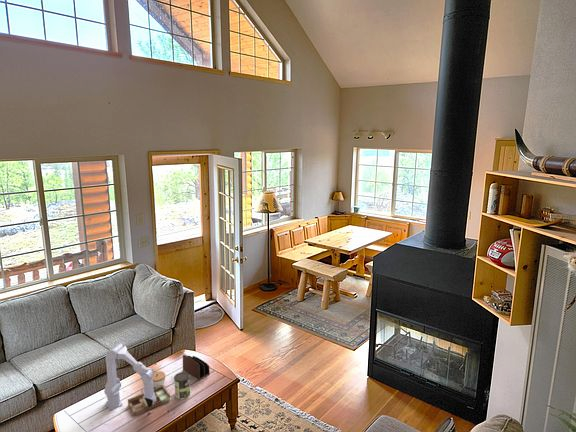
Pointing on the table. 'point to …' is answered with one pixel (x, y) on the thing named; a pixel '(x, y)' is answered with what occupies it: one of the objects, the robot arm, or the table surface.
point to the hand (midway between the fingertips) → (150, 406)
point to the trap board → (159, 393)
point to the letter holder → (195, 367)
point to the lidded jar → (158, 379)
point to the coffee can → (182, 385)
